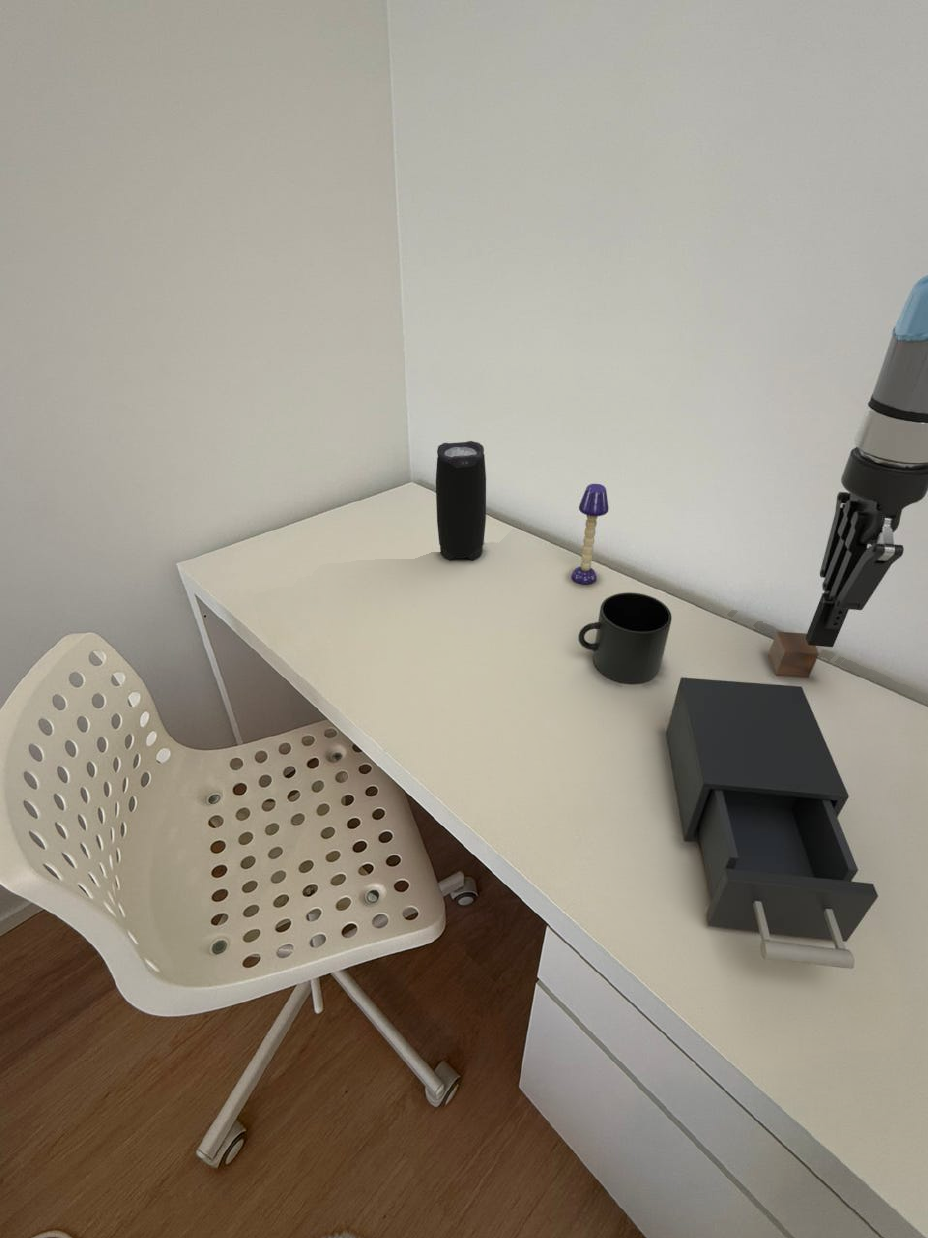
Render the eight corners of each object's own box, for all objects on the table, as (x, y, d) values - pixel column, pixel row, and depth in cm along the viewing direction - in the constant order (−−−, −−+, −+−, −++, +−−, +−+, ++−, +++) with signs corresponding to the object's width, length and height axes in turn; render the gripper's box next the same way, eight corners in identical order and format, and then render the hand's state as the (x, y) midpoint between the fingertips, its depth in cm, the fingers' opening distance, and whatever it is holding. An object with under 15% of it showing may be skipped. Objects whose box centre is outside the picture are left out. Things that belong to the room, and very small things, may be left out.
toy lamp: (568, 570, 112) (578, 480, 102) (595, 569, 112) (607, 480, 102) (573, 585, 108) (584, 494, 98) (601, 584, 109) (614, 493, 99)
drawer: (866, 999, 56) (902, 954, 51) (717, 980, 57) (740, 936, 52) (800, 811, 71) (824, 764, 66) (684, 800, 72) (699, 753, 68)
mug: (571, 641, 96) (577, 591, 91) (652, 642, 96) (663, 592, 91) (578, 684, 89) (585, 632, 83) (666, 685, 89) (679, 633, 83)
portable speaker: (480, 537, 122) (482, 436, 110) (488, 563, 114) (491, 458, 102) (435, 540, 121) (431, 439, 109) (440, 566, 113) (437, 461, 101)
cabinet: (817, 854, 68) (849, 796, 62) (684, 841, 69) (703, 783, 63) (778, 743, 80) (801, 686, 74) (665, 733, 82) (680, 676, 76)
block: (799, 657, 93) (809, 633, 91) (808, 677, 90) (819, 653, 87) (768, 655, 94) (776, 631, 91) (775, 675, 90) (785, 651, 88)
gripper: (967, 484, 57) (870, 682, 71) (911, 430, 67) (836, 613, 82) (876, 479, 58) (798, 675, 72) (835, 427, 68) (774, 608, 83)
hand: (819, 642), depth 77 cm, fingers closed
